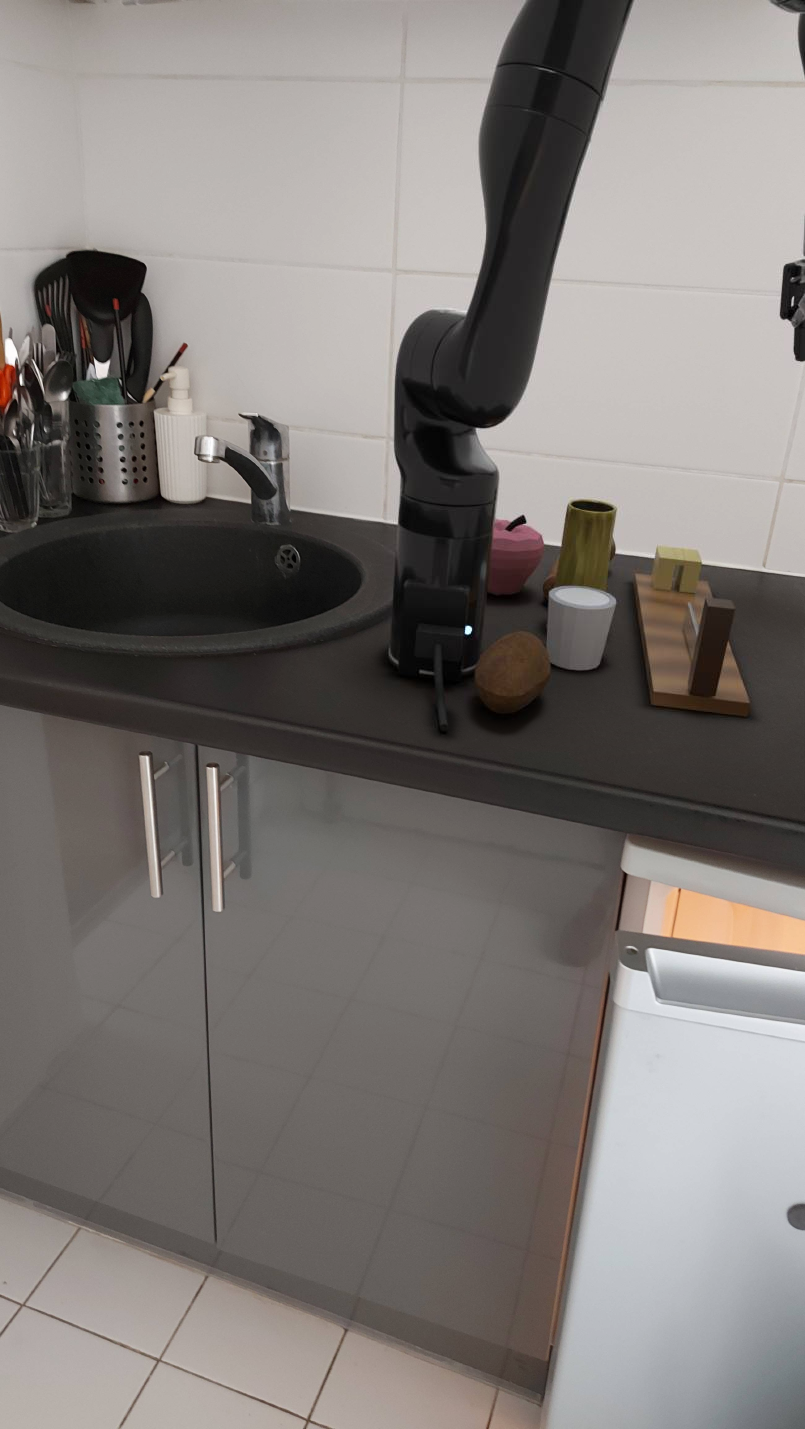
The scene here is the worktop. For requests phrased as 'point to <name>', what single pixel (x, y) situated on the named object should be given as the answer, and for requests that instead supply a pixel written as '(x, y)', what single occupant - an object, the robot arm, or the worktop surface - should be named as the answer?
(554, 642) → the white cup
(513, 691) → the potato
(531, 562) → the apple
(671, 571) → the yellow slotted block
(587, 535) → the vase
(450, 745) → the worktop surface
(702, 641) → the dark brown upright post
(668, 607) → the cutting board
